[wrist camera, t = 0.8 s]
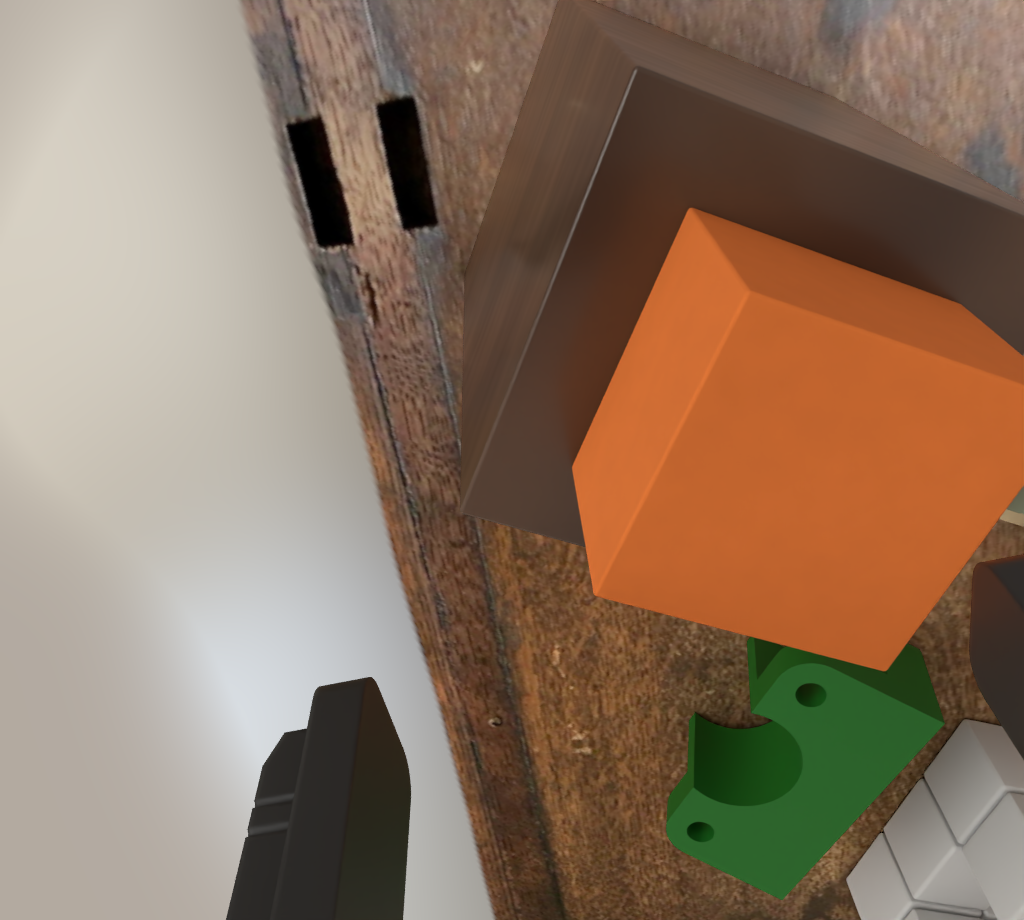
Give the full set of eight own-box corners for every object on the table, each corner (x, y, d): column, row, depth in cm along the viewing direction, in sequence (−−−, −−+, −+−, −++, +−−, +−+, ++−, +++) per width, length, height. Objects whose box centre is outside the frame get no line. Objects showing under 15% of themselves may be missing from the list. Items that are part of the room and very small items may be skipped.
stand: (463, 275, 31) (458, 514, 19) (562, -12, 27) (635, 64, 15) (708, 355, 33) (844, 619, 21) (837, 98, 29) (1101, 245, 17)
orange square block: (570, 467, 19) (592, 597, 15) (688, 205, 16) (748, 289, 13) (814, 538, 20) (886, 674, 16) (961, 303, 17) (1085, 406, 14)
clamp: (759, 563, 43) (821, 608, 34) (875, 620, 43) (968, 681, 34) (640, 790, 44) (670, 893, 35) (754, 846, 44) (814, 963, 35)
